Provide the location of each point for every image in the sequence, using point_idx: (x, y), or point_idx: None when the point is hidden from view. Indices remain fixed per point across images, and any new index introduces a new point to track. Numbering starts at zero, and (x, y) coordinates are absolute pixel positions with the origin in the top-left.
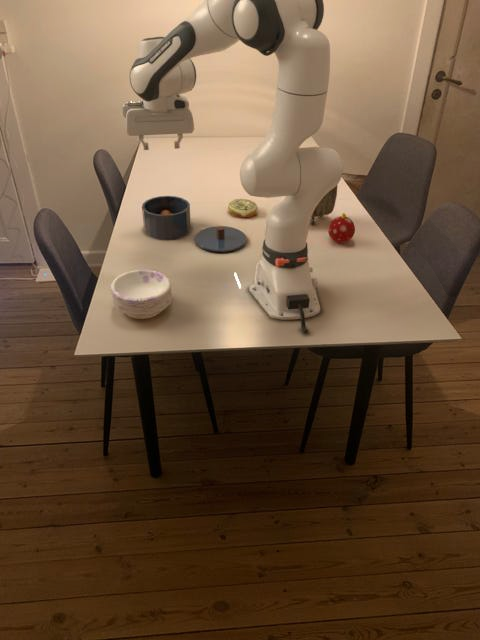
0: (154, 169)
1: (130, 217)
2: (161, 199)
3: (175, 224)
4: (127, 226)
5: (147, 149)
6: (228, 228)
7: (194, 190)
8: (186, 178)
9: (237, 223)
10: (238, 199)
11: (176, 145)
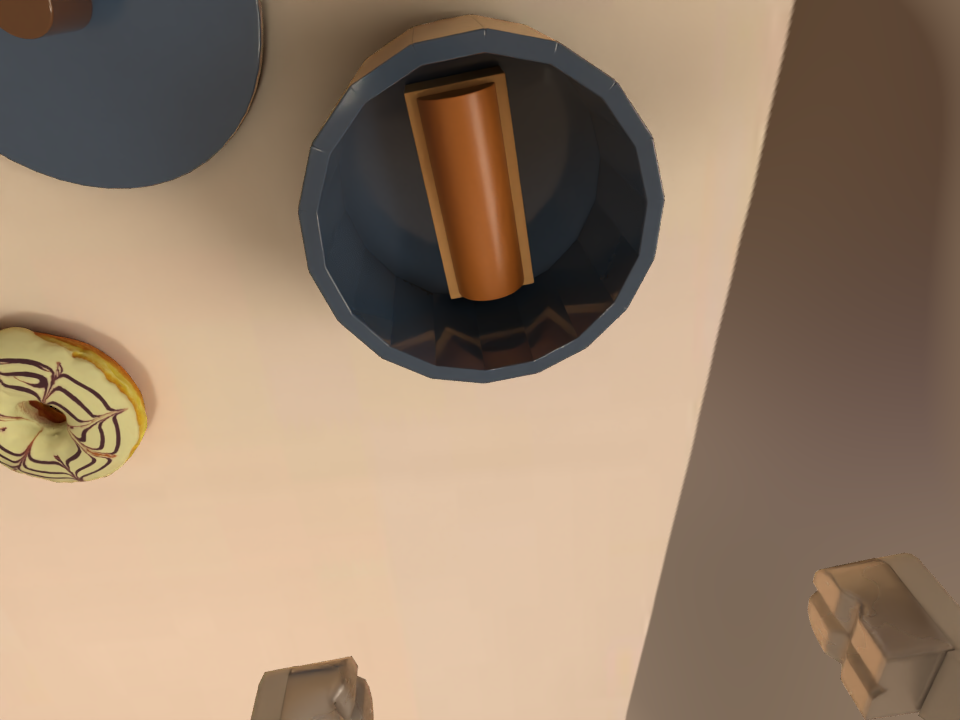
0: (567, 695)
1: (683, 308)
2: (524, 352)
3: (397, 44)
4: (706, 202)
5: (848, 567)
6: (53, 152)
7: (380, 572)
8: (430, 653)
9: (47, 264)
10: (80, 466)
11: (307, 714)
